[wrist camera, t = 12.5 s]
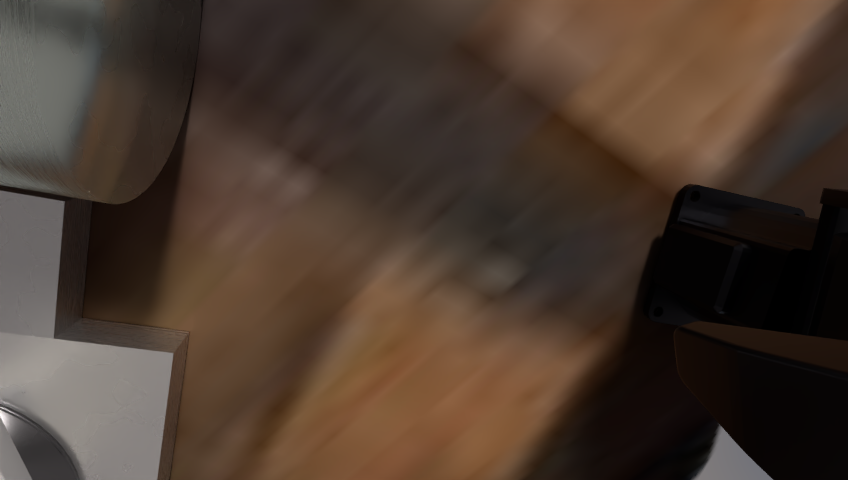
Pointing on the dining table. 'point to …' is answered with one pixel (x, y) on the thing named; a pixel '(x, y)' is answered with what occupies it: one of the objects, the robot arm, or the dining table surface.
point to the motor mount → (85, 228)
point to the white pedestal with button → (10, 458)
